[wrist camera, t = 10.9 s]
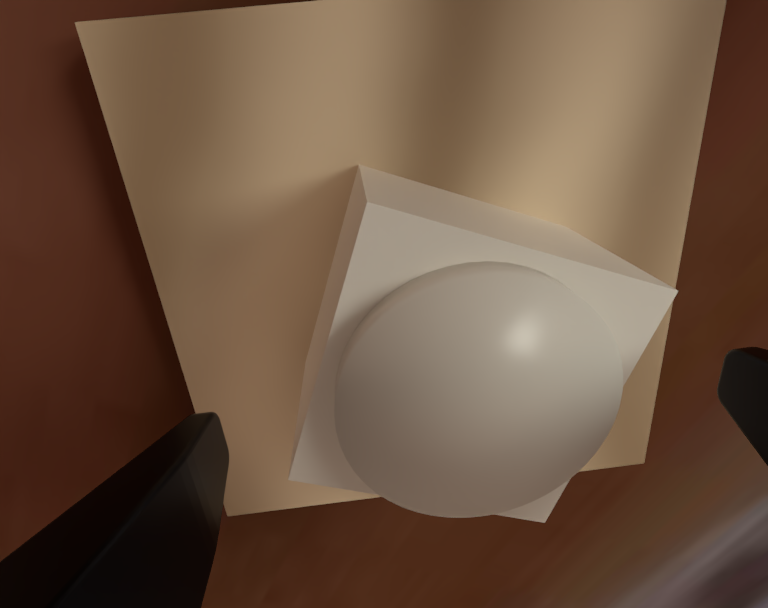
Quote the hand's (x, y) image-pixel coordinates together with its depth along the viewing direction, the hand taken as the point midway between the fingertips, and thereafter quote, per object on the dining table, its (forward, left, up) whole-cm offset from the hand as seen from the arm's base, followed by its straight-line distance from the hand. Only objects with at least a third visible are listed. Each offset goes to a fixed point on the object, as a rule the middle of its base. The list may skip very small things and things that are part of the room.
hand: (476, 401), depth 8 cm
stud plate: (0, 0, -6) cm, 6 cm away
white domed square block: (0, 0, -5) cm, 5 cm away
